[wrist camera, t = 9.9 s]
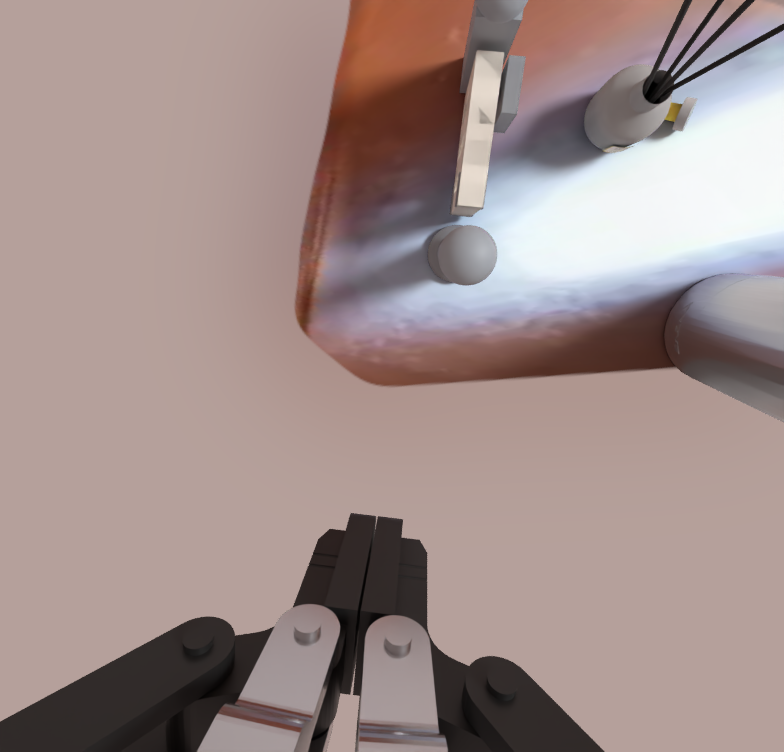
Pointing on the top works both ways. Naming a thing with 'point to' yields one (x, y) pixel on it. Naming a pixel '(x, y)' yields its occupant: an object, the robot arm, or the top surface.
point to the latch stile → (496, 33)
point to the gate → (476, 134)
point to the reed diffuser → (652, 90)
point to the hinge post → (462, 254)
